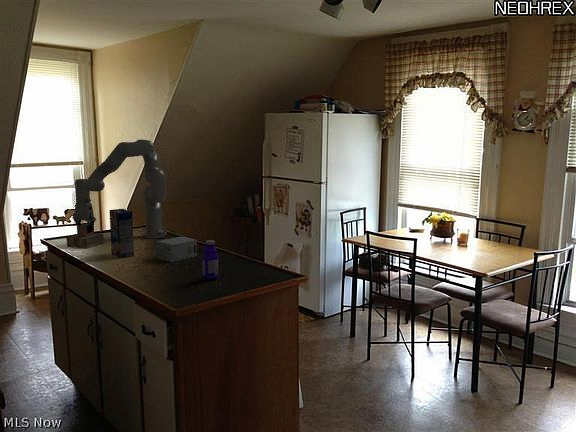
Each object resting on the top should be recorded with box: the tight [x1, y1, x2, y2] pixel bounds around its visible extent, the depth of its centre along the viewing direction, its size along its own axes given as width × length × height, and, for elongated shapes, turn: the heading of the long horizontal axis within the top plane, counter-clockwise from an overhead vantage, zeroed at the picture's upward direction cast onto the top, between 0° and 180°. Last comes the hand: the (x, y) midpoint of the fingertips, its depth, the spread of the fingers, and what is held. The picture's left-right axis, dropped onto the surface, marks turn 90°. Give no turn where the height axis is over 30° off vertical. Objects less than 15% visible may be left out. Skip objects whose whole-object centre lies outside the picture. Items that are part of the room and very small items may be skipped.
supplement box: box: [155, 236, 198, 263], centre depth 273 cm, size 17×13×9 cm
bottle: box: [201, 239, 219, 280], centre depth 235 cm, size 7×6×17 cm
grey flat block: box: [65, 232, 105, 250], centre depth 299 cm, size 14×14×6 cm
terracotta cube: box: [76, 223, 94, 237], centre depth 298 cm, size 6×6×6 cm
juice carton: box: [108, 208, 135, 259], centre depth 275 cm, size 12×8×24 cm, turn 40°
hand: (84, 231), depth 298 cm, fingers open, 7 cm apart
